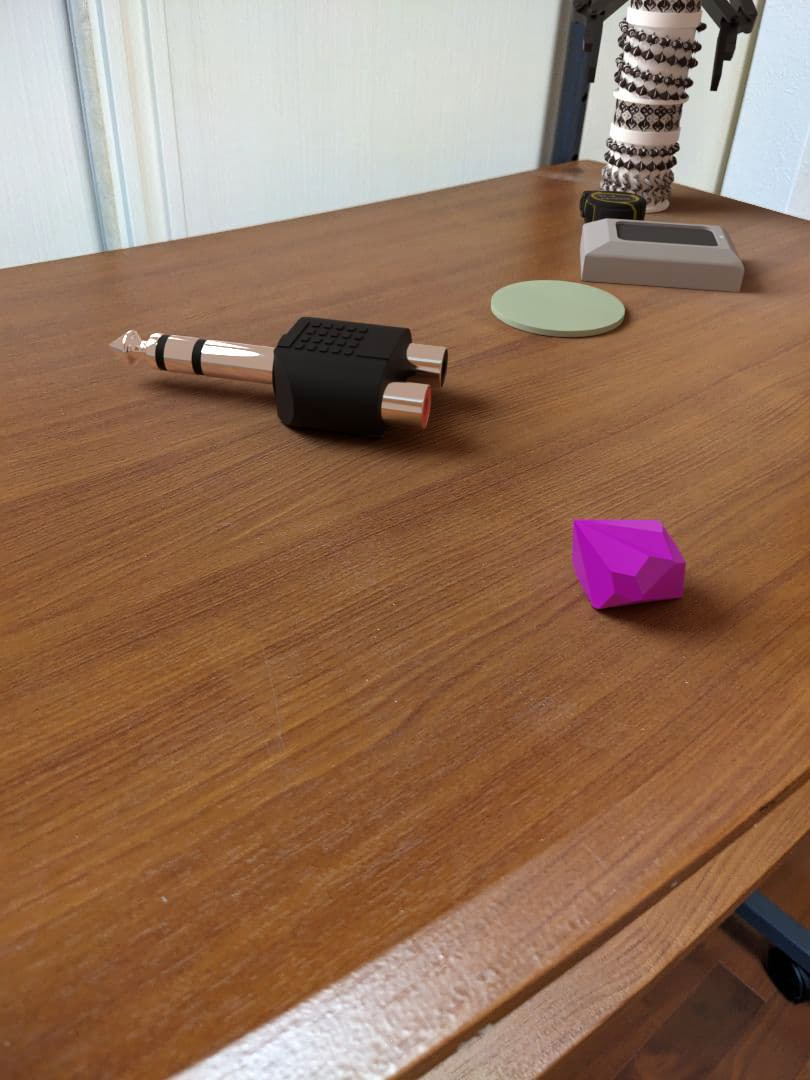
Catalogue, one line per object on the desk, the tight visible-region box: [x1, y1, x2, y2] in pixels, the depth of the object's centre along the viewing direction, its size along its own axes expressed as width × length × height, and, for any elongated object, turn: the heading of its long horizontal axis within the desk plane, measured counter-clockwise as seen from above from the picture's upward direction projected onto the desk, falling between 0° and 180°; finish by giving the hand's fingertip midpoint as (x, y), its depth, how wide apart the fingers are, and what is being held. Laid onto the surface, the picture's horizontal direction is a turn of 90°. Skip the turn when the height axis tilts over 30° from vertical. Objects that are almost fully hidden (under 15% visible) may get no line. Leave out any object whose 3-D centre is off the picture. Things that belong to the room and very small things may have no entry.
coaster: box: [490, 279, 626, 338], centre depth 83 cm, size 12×12×1 cm
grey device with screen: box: [579, 218, 746, 293], centre depth 92 cm, size 10×4×15 cm
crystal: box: [571, 518, 687, 610], centre depth 49 cm, size 5×5×5 cm
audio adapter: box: [107, 316, 449, 438], centre depth 67 cm, size 11×5×25 cm
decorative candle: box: [599, 0, 708, 214], centre depth 104 cm, size 9×9×25 cm
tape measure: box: [578, 190, 647, 224], centre depth 102 cm, size 7×7×4 cm
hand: (652, 79), depth 103 cm, fingers open, 13 cm apart
